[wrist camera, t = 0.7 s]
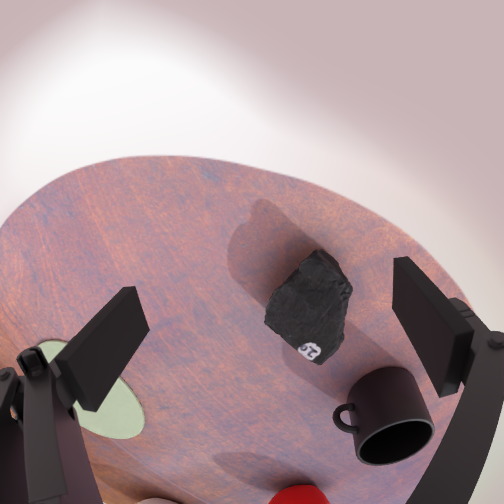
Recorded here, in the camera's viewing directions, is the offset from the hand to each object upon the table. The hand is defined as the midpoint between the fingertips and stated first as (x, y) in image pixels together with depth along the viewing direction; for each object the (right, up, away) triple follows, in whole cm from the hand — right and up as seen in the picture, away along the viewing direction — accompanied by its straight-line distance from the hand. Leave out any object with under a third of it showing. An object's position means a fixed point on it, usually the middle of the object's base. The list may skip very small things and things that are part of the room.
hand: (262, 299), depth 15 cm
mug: (+15, -16, +21) cm, 30 cm away
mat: (-28, -21, +27) cm, 44 cm away
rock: (+5, -2, +17) cm, 18 cm away
